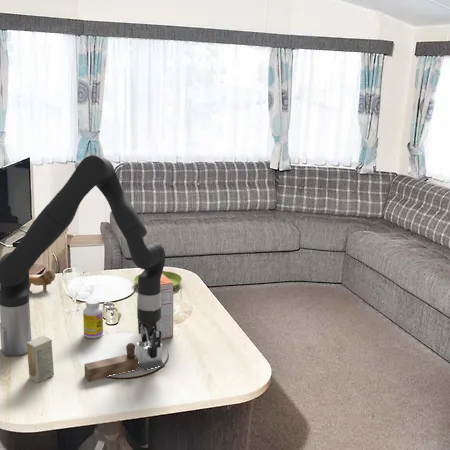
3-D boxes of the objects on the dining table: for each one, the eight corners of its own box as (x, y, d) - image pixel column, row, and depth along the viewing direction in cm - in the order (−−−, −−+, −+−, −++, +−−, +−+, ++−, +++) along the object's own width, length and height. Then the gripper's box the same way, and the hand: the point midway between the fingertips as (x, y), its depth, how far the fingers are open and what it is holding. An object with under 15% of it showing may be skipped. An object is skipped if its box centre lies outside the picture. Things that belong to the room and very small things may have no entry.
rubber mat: (144, 370, 186) (144, 369, 186) (134, 358, 193) (134, 356, 193) (164, 366, 189) (164, 364, 189) (153, 354, 197) (153, 352, 197)
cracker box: (144, 324, 218) (144, 271, 213) (159, 322, 221) (159, 269, 216) (157, 340, 206) (157, 284, 201) (173, 337, 209) (174, 282, 204)
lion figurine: (55, 287, 251) (54, 267, 248) (56, 292, 246) (55, 271, 244) (19, 290, 246) (17, 270, 244) (19, 295, 241) (17, 274, 239)
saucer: (164, 274, 272) (164, 267, 271) (191, 287, 256) (191, 281, 256) (125, 283, 259) (125, 276, 258) (150, 298, 244) (150, 291, 243)
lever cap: (141, 366, 187) (141, 347, 186) (136, 359, 192) (135, 341, 190) (162, 361, 191) (162, 343, 189) (156, 355, 195) (156, 336, 193)
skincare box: (46, 370, 184) (44, 334, 181) (54, 375, 181) (52, 339, 178) (28, 378, 179) (25, 341, 176) (36, 383, 177) (34, 346, 173)
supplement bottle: (98, 340, 205) (97, 306, 202) (80, 337, 206) (79, 303, 203) (106, 332, 212) (105, 298, 208) (88, 329, 213) (87, 296, 209)
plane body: (88, 381, 179) (87, 355, 176) (84, 375, 182) (83, 350, 180) (138, 369, 186) (138, 344, 184) (133, 364, 190) (133, 339, 187)
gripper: (129, 298, 190) (130, 346, 195) (146, 315, 178) (146, 365, 183) (151, 295, 194) (151, 341, 198) (169, 311, 182) (169, 360, 186)
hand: (149, 352), depth 190 cm, fingers open, 6 cm apart
